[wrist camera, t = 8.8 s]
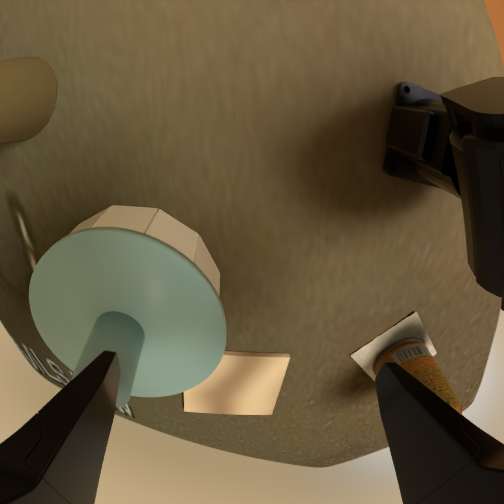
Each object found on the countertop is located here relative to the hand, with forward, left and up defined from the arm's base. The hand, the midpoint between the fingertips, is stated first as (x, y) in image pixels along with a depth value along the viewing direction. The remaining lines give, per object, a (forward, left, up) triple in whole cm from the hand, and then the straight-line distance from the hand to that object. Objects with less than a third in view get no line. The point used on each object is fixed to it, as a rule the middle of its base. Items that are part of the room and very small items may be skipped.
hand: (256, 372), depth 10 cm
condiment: (-17, +12, -13) cm, 24 cm away
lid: (+7, +5, -8) cm, 12 cm away
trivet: (-1, +16, -12) cm, 20 cm away
